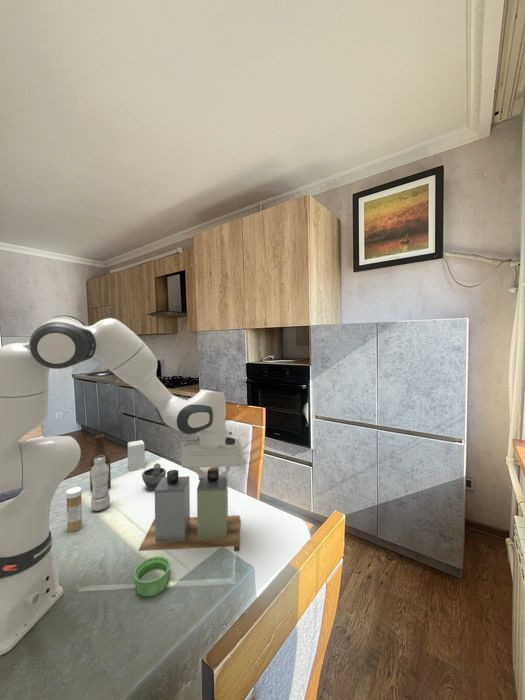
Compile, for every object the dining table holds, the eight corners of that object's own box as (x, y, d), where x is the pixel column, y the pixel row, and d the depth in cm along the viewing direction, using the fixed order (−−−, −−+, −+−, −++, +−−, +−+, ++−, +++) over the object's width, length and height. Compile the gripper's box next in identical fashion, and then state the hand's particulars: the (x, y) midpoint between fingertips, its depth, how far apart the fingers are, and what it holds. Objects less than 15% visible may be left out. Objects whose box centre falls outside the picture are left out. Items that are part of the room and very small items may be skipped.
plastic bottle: (113, 504, 117) (112, 453, 116) (102, 514, 110) (101, 460, 110) (98, 503, 117) (97, 453, 117) (86, 513, 111) (85, 460, 110)
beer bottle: (91, 487, 130) (90, 433, 130) (111, 484, 133) (110, 431, 133) (89, 496, 123) (88, 438, 123) (110, 492, 126) (109, 436, 126)
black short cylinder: (182, 536, 93) (181, 476, 93) (158, 537, 93) (157, 477, 92) (187, 522, 101) (186, 467, 100) (164, 523, 100) (164, 467, 100)
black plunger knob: (224, 534, 94) (223, 475, 94) (200, 535, 94) (199, 475, 93) (225, 520, 102) (225, 465, 101) (203, 521, 101) (203, 466, 101)
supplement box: (145, 468, 150) (144, 443, 150) (129, 471, 147) (128, 446, 146) (143, 463, 157) (142, 439, 156) (127, 466, 153) (127, 442, 153)
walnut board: (239, 550, 90) (239, 545, 90) (138, 555, 88) (138, 550, 88) (239, 519, 106) (239, 515, 106) (154, 523, 104) (154, 518, 104)
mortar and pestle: (140, 486, 132) (139, 459, 131) (161, 480, 137) (161, 454, 137) (147, 496, 122) (146, 467, 122) (169, 490, 128) (169, 462, 128)
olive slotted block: (226, 538, 93) (226, 487, 93) (197, 540, 93) (197, 488, 92) (227, 521, 102) (227, 475, 102) (201, 522, 102) (201, 475, 101)
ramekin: (134, 577, 80) (134, 561, 80) (169, 567, 84) (169, 552, 84) (133, 604, 72) (132, 586, 72) (171, 592, 75) (171, 575, 75)
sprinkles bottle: (69, 525, 103) (69, 487, 103) (84, 523, 104) (83, 485, 104) (64, 533, 99) (63, 493, 99) (79, 531, 100) (79, 492, 100)
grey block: (184, 540, 93) (184, 489, 92) (155, 542, 92) (154, 490, 92) (189, 523, 102) (189, 476, 101) (163, 524, 101) (162, 477, 101)
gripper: (178, 441, 93) (178, 484, 93) (243, 439, 94) (243, 482, 95) (182, 435, 99) (182, 475, 100) (243, 433, 101) (243, 473, 101)
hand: (213, 479), depth 97 cm, fingers open, 6 cm apart
